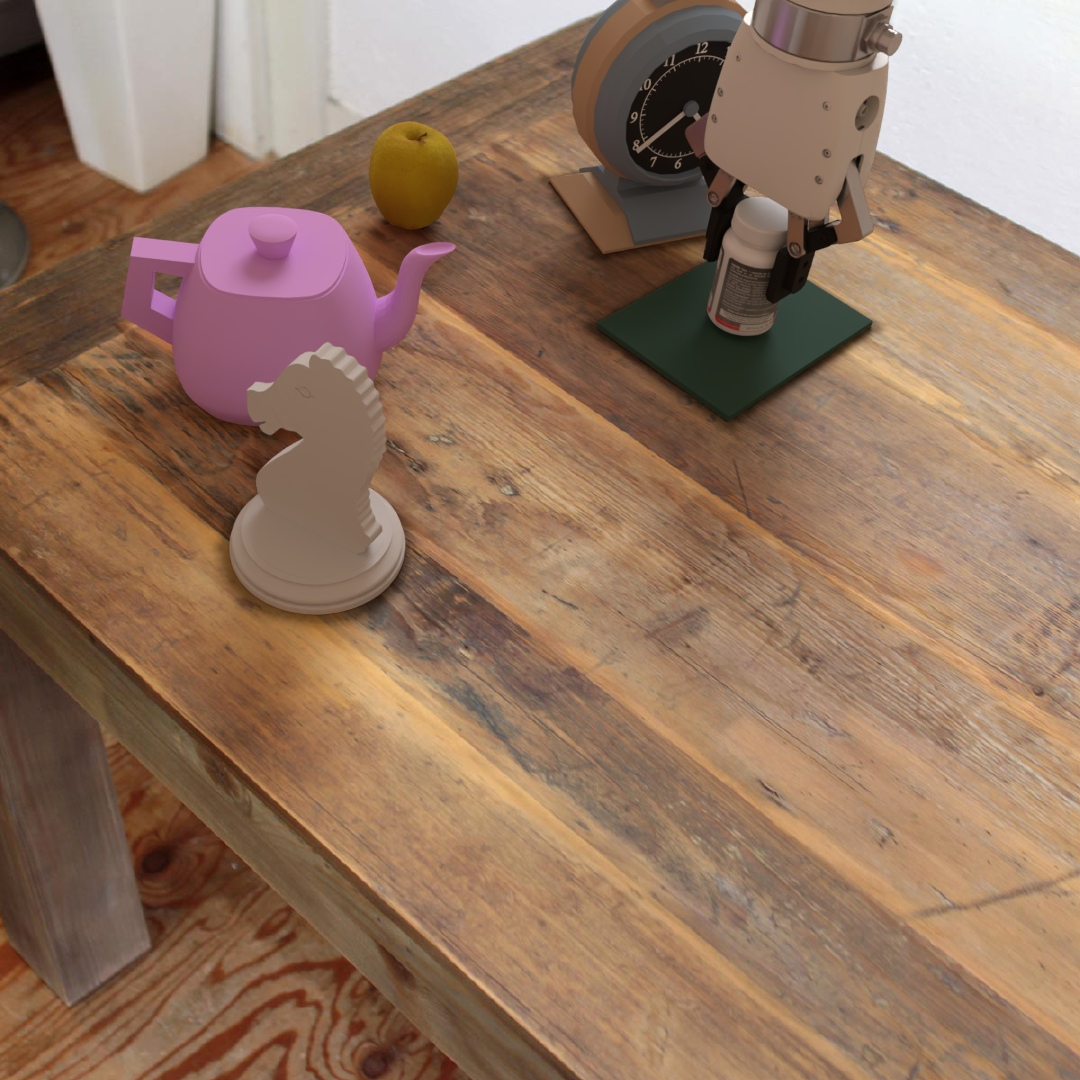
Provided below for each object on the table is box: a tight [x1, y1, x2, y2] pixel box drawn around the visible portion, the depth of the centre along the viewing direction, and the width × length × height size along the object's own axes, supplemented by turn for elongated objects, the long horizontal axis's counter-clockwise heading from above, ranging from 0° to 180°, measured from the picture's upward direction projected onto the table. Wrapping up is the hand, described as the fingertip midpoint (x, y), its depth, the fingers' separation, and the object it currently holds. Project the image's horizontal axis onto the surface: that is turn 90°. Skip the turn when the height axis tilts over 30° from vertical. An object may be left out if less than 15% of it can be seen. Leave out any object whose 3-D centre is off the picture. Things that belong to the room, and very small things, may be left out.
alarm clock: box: [549, 0, 749, 255], centre depth 96 cm, size 14×10×18 cm
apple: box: [368, 120, 459, 231], centre depth 95 cm, size 6×6×8 cm
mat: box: [595, 260, 874, 422], centre depth 93 cm, size 16×12×1 cm
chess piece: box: [228, 342, 406, 616], centre depth 70 cm, size 10×10×15 cm
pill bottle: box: [707, 196, 788, 336], centre depth 89 cm, size 5×5×8 cm
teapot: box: [120, 206, 457, 427], centre depth 82 cm, size 13×20×11 cm
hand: (751, 271), depth 90 cm, fingers closed on pill bottle, 4 cm apart
